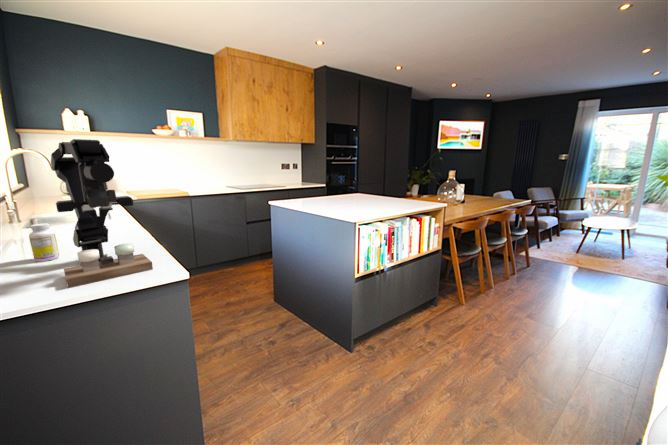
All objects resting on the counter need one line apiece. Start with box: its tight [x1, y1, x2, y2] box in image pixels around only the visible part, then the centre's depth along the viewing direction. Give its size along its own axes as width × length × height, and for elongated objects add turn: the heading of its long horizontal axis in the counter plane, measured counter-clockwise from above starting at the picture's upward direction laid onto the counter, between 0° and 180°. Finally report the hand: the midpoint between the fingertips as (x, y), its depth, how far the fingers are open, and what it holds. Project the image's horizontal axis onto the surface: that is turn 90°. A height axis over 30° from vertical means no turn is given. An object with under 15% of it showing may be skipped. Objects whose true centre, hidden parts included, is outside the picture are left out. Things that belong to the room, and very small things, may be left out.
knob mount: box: [63, 252, 154, 289], centre depth 95 cm, size 12×21×6 cm, turn 134°
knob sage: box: [113, 243, 135, 256], centre depth 97 cm, size 5×5×6 cm
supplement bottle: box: [28, 222, 60, 262], centre depth 107 cm, size 7×7×13 cm
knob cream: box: [76, 249, 100, 263], centre depth 91 cm, size 5×5×6 cm
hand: (101, 230), depth 97 cm, fingers closed
